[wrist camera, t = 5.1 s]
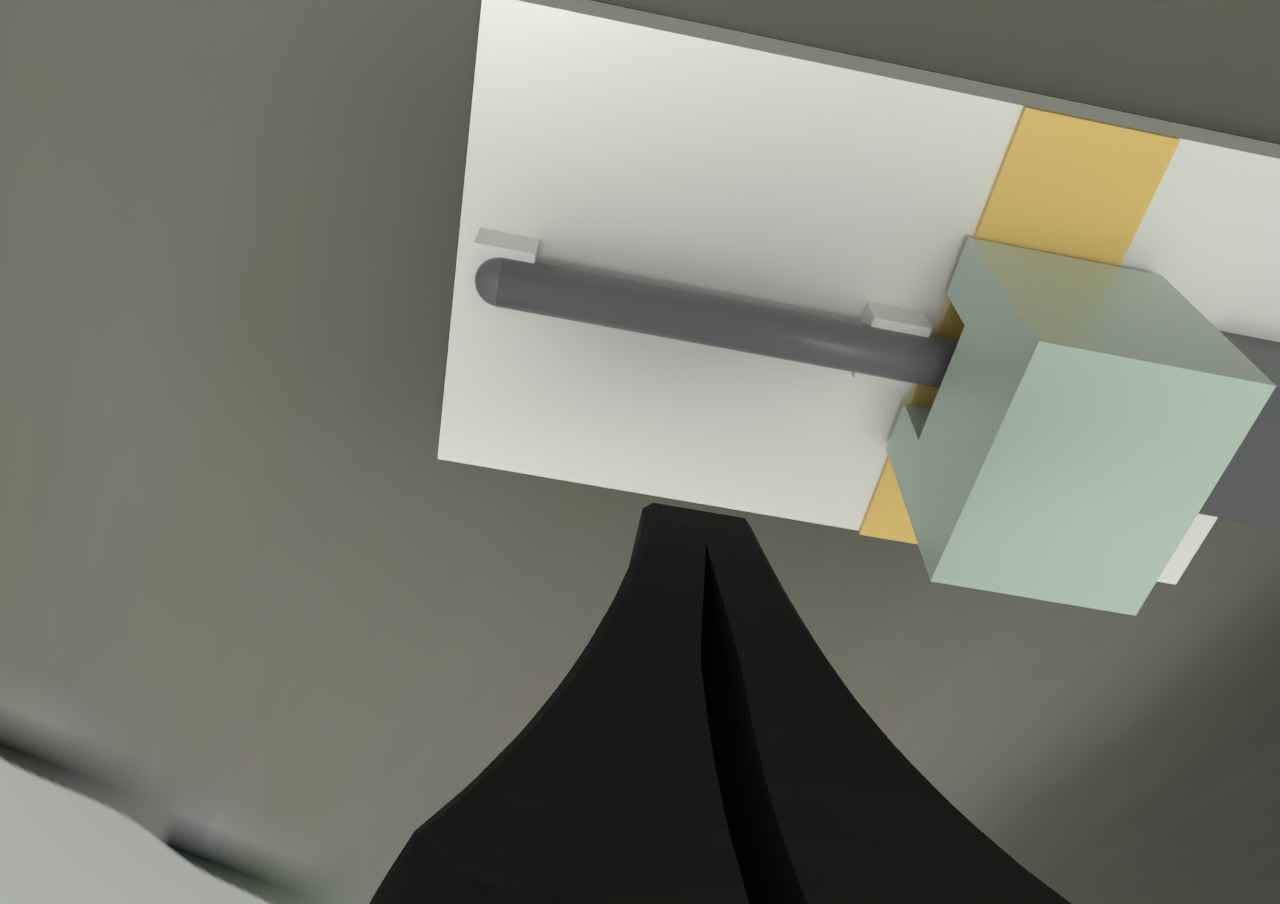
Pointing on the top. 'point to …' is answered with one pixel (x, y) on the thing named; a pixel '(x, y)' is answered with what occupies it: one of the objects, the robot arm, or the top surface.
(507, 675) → the top surface
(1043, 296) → the pale green notched block
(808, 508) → the board
